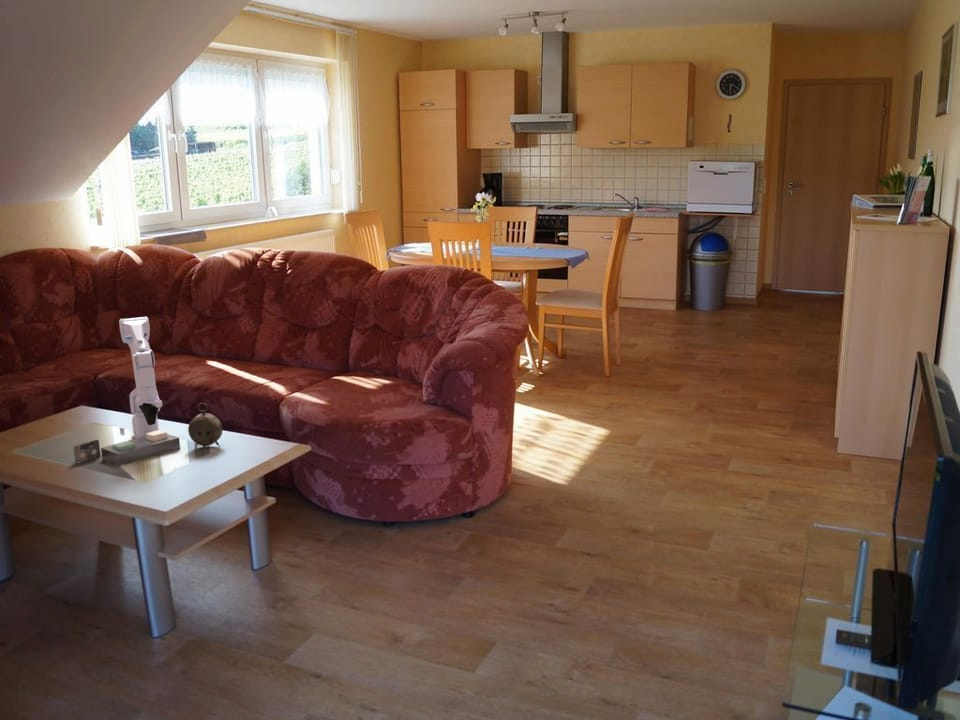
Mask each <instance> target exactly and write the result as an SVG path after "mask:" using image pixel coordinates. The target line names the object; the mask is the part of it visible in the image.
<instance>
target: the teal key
mask: <svg viewBox="0 0 960 720" xmlns="http://www.w3.org/2000/svg"><path fill="white" fill-rule="evenodd" d="M128 441H129V440H126V441H121V442H117V443H114V444H112V445H113V449H115V450H118V451H122V450H125V449H129V448H133V447H135V446H134V443H131V442H128Z"/></svg>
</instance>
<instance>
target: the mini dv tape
mask: <svg viewBox="0 0 960 720" xmlns="http://www.w3.org/2000/svg"><path fill="white" fill-rule="evenodd" d="M73 454H74V462H81V463H83V462H82V461H84V462H86V461H85V460H88V461H90V460H89V459H91V460H93V459H92V458H94V459H96V458H95V457H98V458H100V457H99V456H101V457H102V454H101V447H100V441H99V439H94V440H90V441H87V442H83V443H79V444H77V445H73Z"/></svg>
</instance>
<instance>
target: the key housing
mask: <svg viewBox="0 0 960 720" xmlns="http://www.w3.org/2000/svg"><path fill="white" fill-rule="evenodd" d="M127 441H128V442H131V443H134V446H135V447H133V448H129V449H125V450H122V451H118V450H115V449H113V444H111V445H107V446H104V447H100V453H101V458H102V460H104V461H106V462H109V463H111V464H114V465H117V466H119V467H121V466H124V465H127V464H132V463H135V462H138V461H141V460H145V459H148V458H149V459H150V458H152V457H157V456H159V455H163V454H166V453H171V452H173V451H174V452H175V451H177V450H180V449H181V445H180V444H181V441H180V437H178V436H175V435H172V434H169V433H167V438H166V439H162V440H159V441H155V442H152V441H149V440H146V436H144V437H141V438H137V439H136V438H134V439H130V440H127Z"/></svg>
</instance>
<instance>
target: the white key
mask: <svg viewBox="0 0 960 720" xmlns="http://www.w3.org/2000/svg"><path fill="white" fill-rule="evenodd" d="M167 434H168V433H167V432H166V431H163V430H160V429H159V430H157V431H153V432H149V433H146V440H149V441H152V442H155V441H159V440H162V439H166V438H167Z"/></svg>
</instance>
